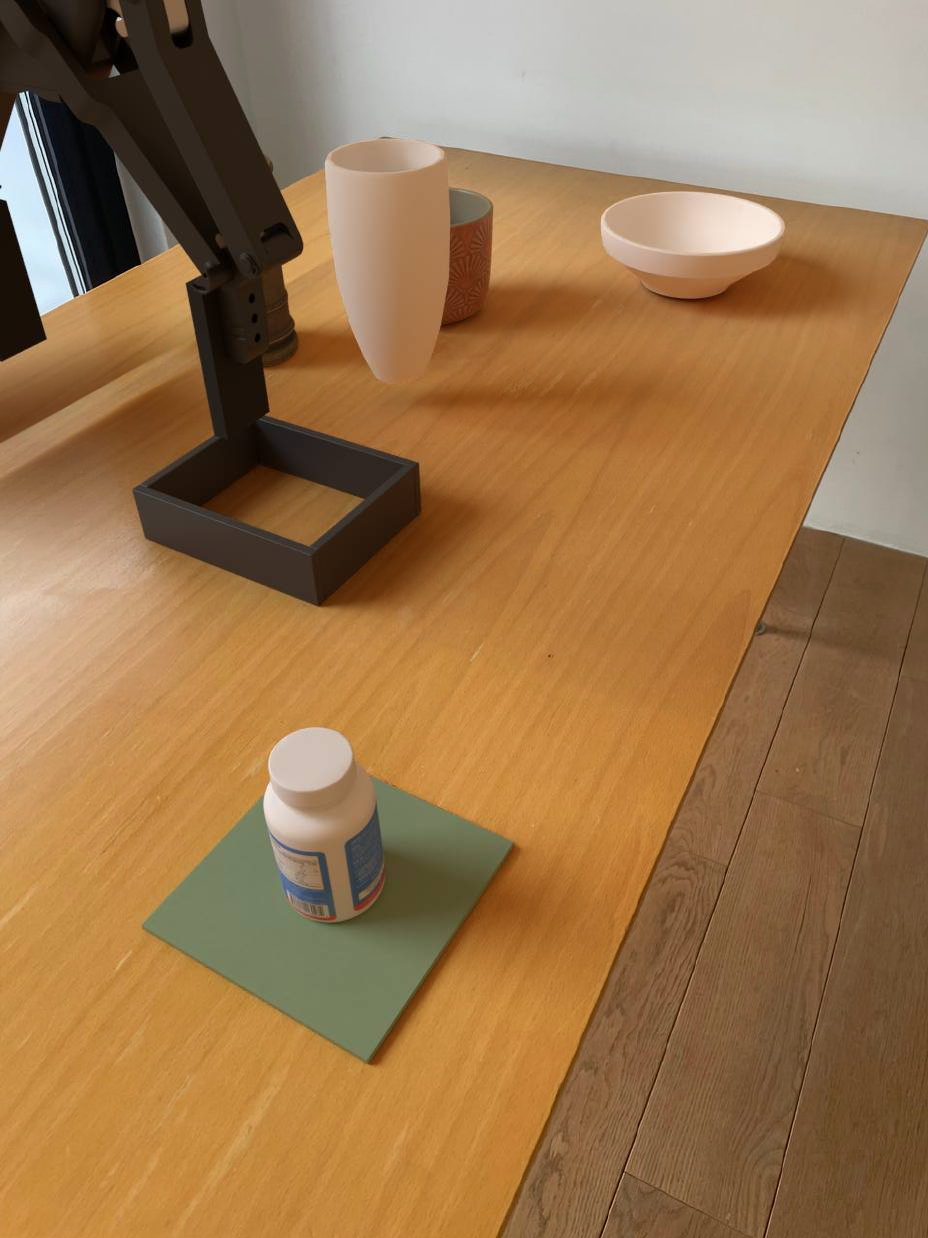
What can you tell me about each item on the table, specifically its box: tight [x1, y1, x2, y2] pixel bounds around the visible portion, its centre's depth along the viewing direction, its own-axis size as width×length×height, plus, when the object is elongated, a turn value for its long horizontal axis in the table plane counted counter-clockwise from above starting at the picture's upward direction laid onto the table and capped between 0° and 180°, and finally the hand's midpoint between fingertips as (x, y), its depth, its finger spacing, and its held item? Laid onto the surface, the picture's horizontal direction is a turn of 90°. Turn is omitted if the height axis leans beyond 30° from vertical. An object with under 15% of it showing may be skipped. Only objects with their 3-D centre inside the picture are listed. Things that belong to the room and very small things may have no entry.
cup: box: [324, 138, 450, 385], centre depth 86 cm, size 10×10×22 cm
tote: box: [131, 414, 422, 607], centre depth 77 cm, size 17×14×4 cm
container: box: [216, 153, 299, 368], centre depth 96 cm, size 9×9×18 cm
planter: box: [441, 186, 494, 325], centre depth 105 cm, size 12×12×11 cm
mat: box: [141, 774, 515, 1065], centre depth 53 cm, size 14×14×1 cm
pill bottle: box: [263, 726, 385, 923], centre depth 50 cm, size 6×5×10 cm
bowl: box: [600, 190, 787, 299], centre depth 111 cm, size 20×20×7 cm
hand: (124, 384), depth 45 cm, fingers open, 13 cm apart
